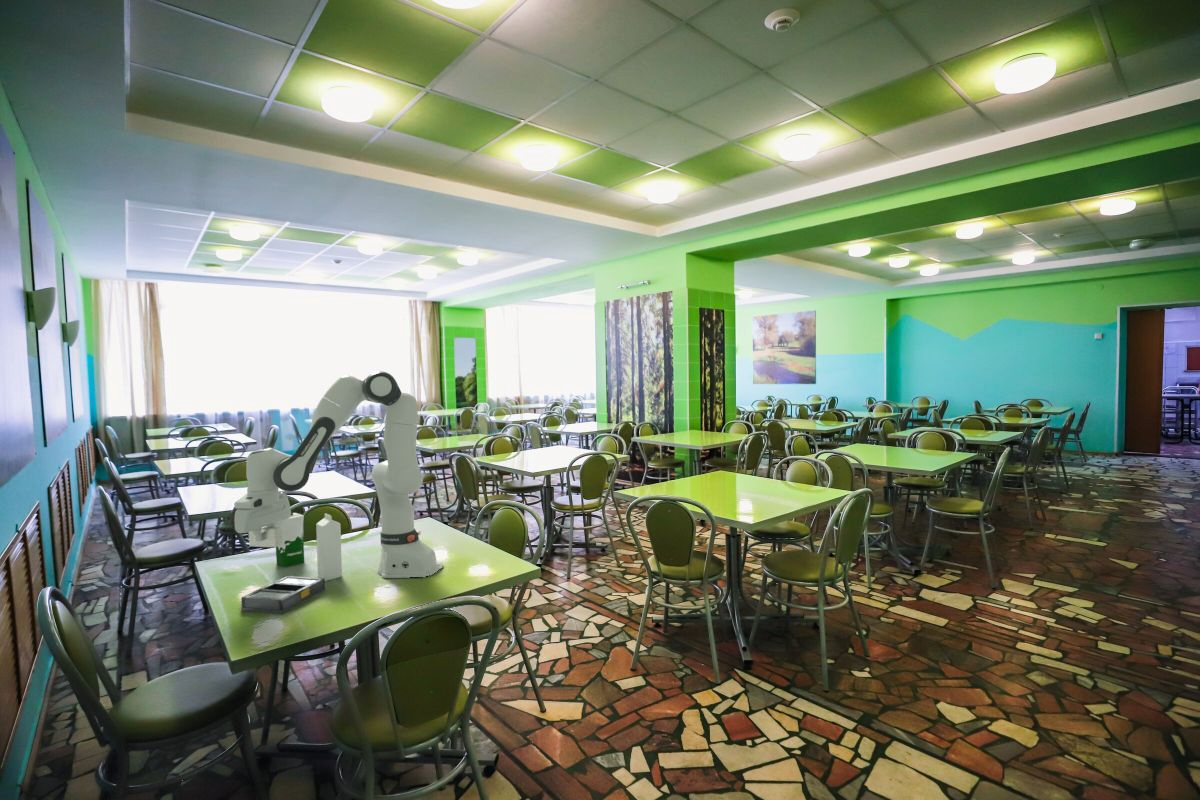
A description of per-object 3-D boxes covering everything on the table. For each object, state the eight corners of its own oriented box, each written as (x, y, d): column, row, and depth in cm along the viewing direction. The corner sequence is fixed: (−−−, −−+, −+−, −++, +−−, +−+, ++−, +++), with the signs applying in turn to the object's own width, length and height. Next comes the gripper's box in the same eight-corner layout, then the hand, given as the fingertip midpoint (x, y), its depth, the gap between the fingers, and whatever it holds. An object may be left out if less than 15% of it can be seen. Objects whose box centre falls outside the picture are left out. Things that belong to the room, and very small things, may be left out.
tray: (326, 590, 185) (326, 578, 185) (282, 614, 166) (282, 600, 166) (287, 587, 188) (287, 575, 188) (240, 610, 169) (239, 597, 169)
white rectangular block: (282, 544, 188) (281, 526, 187) (275, 547, 185) (274, 529, 184) (256, 543, 190) (255, 525, 189) (249, 546, 187) (248, 528, 186)
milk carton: (297, 557, 219) (295, 506, 219) (308, 562, 214) (306, 509, 213) (272, 563, 212) (271, 511, 212) (284, 568, 207) (282, 514, 206)
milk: (335, 572, 202) (333, 511, 201) (342, 576, 197) (340, 514, 197) (317, 577, 197) (315, 514, 197) (324, 581, 193) (322, 517, 192)
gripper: (278, 490, 197) (280, 530, 198) (229, 504, 177) (232, 547, 178) (294, 491, 196) (296, 530, 197) (246, 504, 176) (249, 548, 176)
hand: (265, 539), depth 187 cm, fingers closed on white rectangular block, 3 cm apart
